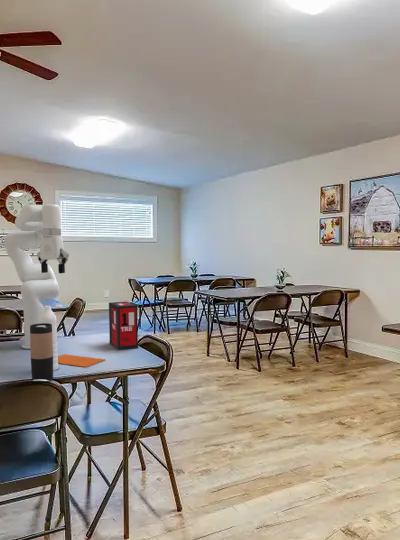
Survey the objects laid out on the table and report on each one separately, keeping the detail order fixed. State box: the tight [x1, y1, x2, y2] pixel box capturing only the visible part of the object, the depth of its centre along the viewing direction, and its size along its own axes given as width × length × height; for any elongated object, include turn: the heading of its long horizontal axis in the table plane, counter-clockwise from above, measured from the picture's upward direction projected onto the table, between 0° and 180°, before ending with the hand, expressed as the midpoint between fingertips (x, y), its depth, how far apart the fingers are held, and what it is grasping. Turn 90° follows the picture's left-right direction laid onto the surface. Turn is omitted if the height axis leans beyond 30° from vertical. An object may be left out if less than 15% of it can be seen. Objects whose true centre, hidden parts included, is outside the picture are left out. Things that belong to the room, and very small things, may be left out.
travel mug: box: [29, 323, 54, 381], centre depth 167 cm, size 8×8×20 cm
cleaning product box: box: [108, 300, 139, 351], centre depth 222 cm, size 16×9×20 cm, turn 26°
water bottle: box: [39, 304, 63, 372], centre depth 182 cm, size 9×6×25 cm
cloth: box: [57, 354, 106, 368], centre depth 195 cm, size 22×12×1 cm, turn 64°
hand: (53, 272), depth 202 cm, fingers open, 9 cm apart
